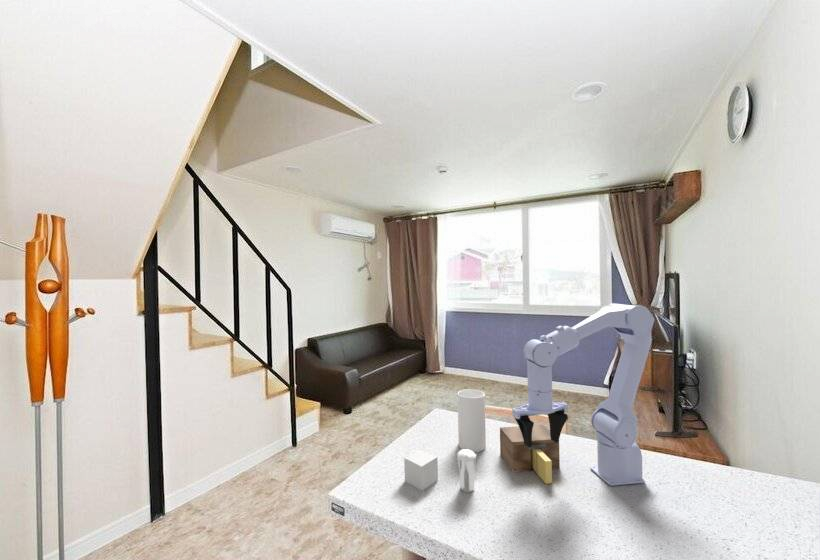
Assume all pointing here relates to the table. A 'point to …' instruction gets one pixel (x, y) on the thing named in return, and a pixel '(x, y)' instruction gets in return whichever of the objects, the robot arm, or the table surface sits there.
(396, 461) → the table surface
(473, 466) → the milkshake
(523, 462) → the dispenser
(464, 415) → the cup
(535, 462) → the ticket
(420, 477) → the white cube
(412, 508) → the table surface
